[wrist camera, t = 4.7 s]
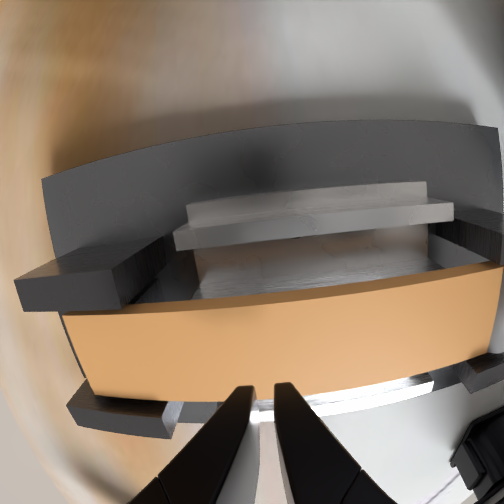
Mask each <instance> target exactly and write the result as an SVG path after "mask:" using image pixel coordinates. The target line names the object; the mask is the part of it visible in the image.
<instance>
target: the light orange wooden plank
mask: <svg viewBox="0 0 504 504" xmlns="http://www.w3.org/2000/svg"><path fill="white" fill-rule="evenodd" d="M62 317H63V320H64V323H65V326H66V328H67V331H68V334H69V336H70V339H71V342H72V344H73V347H74V349H75V352H76V354H77V357H78V359H79V361H80V364H81V366H82V368H83V370H84V373H85V375H86V377H87V379H88V381H89V384H90V386H91V388H92V390H93V392H94V394H95V395H101V396H110V397H119V398H130V399H142V400H159V401H187V402H218V401H225V400H226V399H227V398H228V397H229V395H230V394H231V393H232V392H233V391H234V389H235V388H236V387H237V386H243V385H253V386H254V387H255V391H256V396H257V400H264V399H274V384H275V383H282V382H291V383H292V384H293V385H294V386H295V388H296V389H297V390H298V391H299V393H300V394H301V395H302V396H306V395H314V394H322V393H329V392H335V391H342V390H348V389H353V388H359V387H364V386H369V385H374V384H379V383H384V382H389V381H393V380H397V379H402V378H406V377H410V376H414V375H418V374H421V373H425V372H429V371H432V370H436V369H439V368H443V367H446V366H449V365H452V364H456V363H459V362H462V361H465V360H468V359H471V358H474V357H476V356H479V355H482V354H485V353H487V352H489V353H503V352H504V265H498V264H496V263H494V262H492V261H486V262H480V263H475V264H470V265H464V266H459V267H453V268H447V269H441V270H435V271H429V272H423V273H417V274H411V275H404V276H398V277H391V278H385V279H378V280H371V281H363V282H356V283H349V284H341V285H333V286H326V287H317V288H309V289H301V290H292V291H283V292H274V293H264V294H254V295H244V296H233V297H222V298H211V299H199V300H186V301H173V302H158V303H142V304H127V305H126V306H125V307H124V308H123V309H118V310H92V311H67V312H66V313H65V314H64V315H62Z"/></svg>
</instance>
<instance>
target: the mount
mask: <svg viewBox="0 0 504 504" xmlns="http://www.w3.org/2000/svg"><path fill="white" fill-rule="evenodd" d="M41 180H42V188H43V195H44V202H45V208H46V214H47V220H48V225H49V230H50V235H51V240H52V244H53V249H54V253H55V257H56V259H54V260H52V261H50V262H48V263H46V264H44V265H42V266H40V267H38V268H36V269H34V270H32V271H30V272H28V273H26V274H24V275H22V276H20V277H19V278H17V279H15V280H14V283H15V286H16V289H17V293H18V296H19V299H20V302H21V305H22V308H23V311H24V312H47V311H58V313H59V316H60V319H61V322H62V325H63V327H64V330H65V333H66V336H67V338H68V341H69V343H70V346H71V348H72V351H73V353H74V356H75V358H76V360H77V363H78V365H79V367H80V369H81V372H82V374H83V376H84V378H87V377H86V375H85V373H84V370H83V368H82V366H81V364H80V361H79V359H78V357H77V354H76V352H75V349H74V347H73V344H72V342H71V339H70V336H69V334H68V331H67V328H66V326H65V323H64V320H63V317H62V315H64V314H65V313H66V312H67V311H92V310H118V309H123V308H124V307H125V306H126V305H127V304H142V303H158V302H173V301H186V300H199V299H211V298H222V297H233V296H244V295H254V294H264V293H274V292H283V291H292V290H301V289H309V288H317V287H326V286H333V285H341V284H349V283H356V282H363V281H371V280H378V279H385V278H391V277H398V276H404V275H411V274H417V273H423V272H429V271H435V270H441V269H447V268H453V267H459V266H464V265H470V264H475V263H480V262H486V261H492V262H494V263H496V264H498V265H504V214H503V180H502V164H501V152H500V143H499V134H498V128H494V127H487V126H479V125H470V124H460V123H448V122H434V121H413V120H348V121H326V122H310V123H298V124H287V125H277V126H268V127H259V128H251V129H244V130H237V131H230V132H223V133H217V134H211V135H205V136H200V137H194V138H189V139H184V140H179V141H174V142H169V143H165V144H160V145H156V146H151V147H147V148H143V149H139V150H135V151H131V152H127V153H123V154H119V155H116V156H112V157H108V158H105V159H101V160H98V161H94V162H91V163H88V164H85V165H81V166H78V167H75V168H72V169H69V170H66V171H63V172H60V173H57V174H54V175H51V176H48V177H46V178H43V179H41ZM503 379H504V352H503V353H489V352H487V353H485V354H482V355H479V356H476V357H474V358H471V359H468V360H465V361H462V362H459V363H456V364H452V365H449V366H446V367H443V368H439V369H436V370H432V371H429V372H425V373H421V374H418V375H414V376H410V377H406V378H402V379H397V380H393V381H389V382H384V383H379V384H374V385H369V386H364V387H359V388H353V389H348V390H342V391H335V392H329V393H322V394H314V395H306V396H303V398H304V399H305V400H306V401H307V403H308V404H309V405H310V406H311V408H312V409H313V410H314V411H315V413H316V414H317V415H318V416H325V415H332V414H338V413H344V412H350V411H355V410H360V409H365V408H370V407H375V406H380V405H384V404H388V403H393V402H397V401H401V400H405V399H408V398H412V397H416V396H419V395H423V394H426V393H430V392H433V391H436V390H439V389H442V388H446V387H449V386H452V385H454V384H457V383H460V382H462V383H463V384H464V385H465V387H466V388H467V389H468V391H469V392H470V393H473V392H476V391H478V390H481V389H483V388H485V387H488V386H490V385H492V384H495V383H497V382H499V381H501V380H503ZM223 402H224V401H218V402H187V401H159V400H142V399H130V398H119V397H110V396H101V395H95V394H94V392H93V390H92V388H91V386H90V384H89V381H88V379H86V380H85V381H84V383H83V384H82V385H81V386H80V388H79V389H78V390H77V392H76V393H75V394H74V395H73V397H72V398H71V399H70V401H69V402H68V403H67V405H66V406H67V408H68V410H69V412H70V413H71V415H72V417H73V418H74V420H75V422H76V423H77V425H78V426H83V427H87V428H92V429H97V430H103V431H108V432H114V433H121V434H127V435H135V436H143V437H152V438H162V439H171V438H172V435H173V432H174V429H175V426H176V423H177V422H178V423H206V422H207V421H208V420H209V419H210V418H211V416H212V415H213V414H214V413H215V412H216V411H217V409H218V408H219V407H220V406H221V405H222V404H223ZM257 402H258V408H259V422H269V421H274V399H264V400H257Z"/></svg>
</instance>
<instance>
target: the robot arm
mask: <svg viewBox="0 0 504 504" xmlns="http://www.w3.org/2000/svg"><path fill="white" fill-rule="evenodd" d="M274 423H275V431H276V438H277V446H278V453H279V461H280V467H281V473H282V478H283V483H284V488H285V493H286V498H287V503H288V504H397V503H396V502H395V501H394V500H393V499H392V498H390V497H389V496H388V495H387V494H386V493H385V492H384V491H383V490H382V489H381V488H380V487H379V486H378V485H377V484H376V483H375V482H374V481H373V480H372V478H371V477H370V476H369V475H368V474H367V473H366V472H365V470H363V469H362V470H361V466H360V465H359V464H358V463H357V462H356V460H355V459H354V458H353V457H352V456H351V455H350V453H349V452H348V451H347V450H346V449H345V448H344V446H343V445H342V444H341V443H340V442H339V440H338V439H337V438H336V437H335V436H334V434H333V433H332V432H331V431H330V430H329V428H328V427H327V426H326V425H325V424H324V422H323V421H322V420H321V419H320V418H319V416H318V415H317V414H316V413H315V411H314V410H313V409H312V408H311V406H310V405H309V404H308V403H307V401H306V400H305V399H304V398H303V396H302V395H301V394H300V393H299V391H298V390H297V389H296V388H295V386H294V385H293V384H292V383H291V382H282V383H275V384H274ZM450 465H451V467H452V468H453V467H456V466H457V468H458V470H459V472H460V474H461V477H462V479H463V481H464V483H465V485H466V487H467V489H468V490H472V489H473V491H474V493H475V495H476V497H477V499H478V501H477V502H475V503H474V504H504V407H502V408H500V409H498V410H496V411H494V412H492V413H490V414H488V415H486V416H484V417H482V418H479V419H477V420H475V421H473V422H472V423H471V424H470V426H469V427H468V430H467V432H466V434H465V436H464V438H463V440H462V442H461V444H460V446H459V448H458V450H457V452H456V454H455V455H454V457H453V459H452V461H451V463H450ZM259 466H260V436H259V408H258V402H257V396H256V391H255V387H254V386H253V385H243V386H237V387H236V388H235V389H234V391H233V392H232V393H231V394H230V395H229V397H228V398H227V399H226V400H225V401H224V402H223V404H222V405H221V406H220V407H219V408H218V409H217V411H216V412H215V413H214V414H213V415H212V416H211V418H210V419H209V420H208V421H207V422H206V423H205V424H204V425H203V427H202V428H201V429H200V430H199V431H198V432H197V433H196V434H195V436H194V437H193V438H192V439H191V440H190V441H189V442H188V443H187V444H186V445H185V447H184V448H183V449H182V450H181V451H180V452H179V453H178V454H177V455H176V456H175V457H174V458H173V459H172V460H171V461H170V463H169V464H168V465H167V466H166V467H165V468H164V469H163V470H162V471H161V472H160V473H159V474H158V477H155V478H154V479H153V480H152V481H151V482H150V483H149V484H148V485H147V486H146V487H145V488H144V489H143V490H142V491H141V492H139V493H138V494H137V495H136V496H135V497H134V498H133V499H132V500H131V501H129V502H128V503H127V504H254V503H255V496H256V489H257V482H258V475H259Z"/></svg>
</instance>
